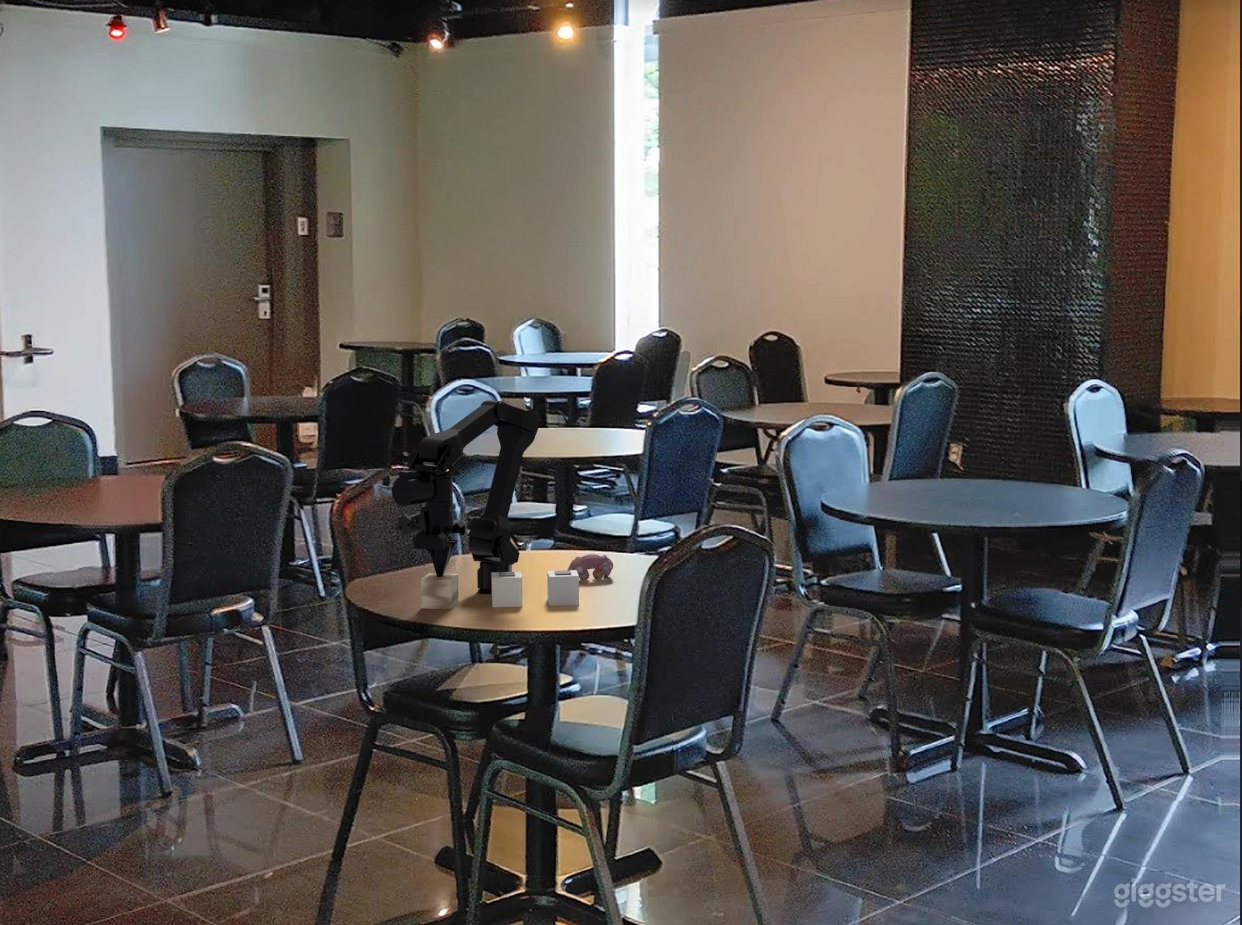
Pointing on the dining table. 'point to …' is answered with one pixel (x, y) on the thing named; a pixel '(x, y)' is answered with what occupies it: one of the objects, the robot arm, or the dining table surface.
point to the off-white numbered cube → (507, 589)
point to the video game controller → (592, 566)
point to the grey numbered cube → (563, 587)
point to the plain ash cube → (439, 591)
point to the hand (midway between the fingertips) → (439, 576)
